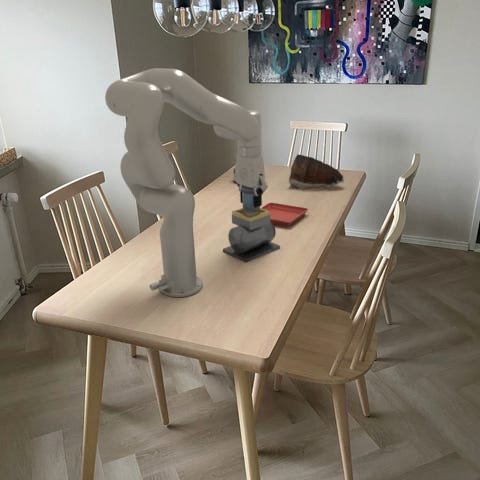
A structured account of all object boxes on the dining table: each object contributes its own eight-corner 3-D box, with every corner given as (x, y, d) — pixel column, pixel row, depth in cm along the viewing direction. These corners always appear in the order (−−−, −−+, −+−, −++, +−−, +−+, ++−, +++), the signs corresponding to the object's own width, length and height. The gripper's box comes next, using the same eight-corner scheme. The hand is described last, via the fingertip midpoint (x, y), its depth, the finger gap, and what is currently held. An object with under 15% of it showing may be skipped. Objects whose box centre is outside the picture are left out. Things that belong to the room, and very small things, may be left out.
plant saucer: (269, 208, 204) (269, 201, 203) (308, 215, 195) (309, 207, 194) (249, 222, 190) (249, 214, 189) (290, 230, 181) (290, 222, 180)
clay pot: (346, 168, 215) (293, 155, 221) (337, 200, 220) (286, 186, 226) (349, 164, 228) (300, 152, 235) (341, 194, 234) (293, 181, 240)
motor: (245, 262, 156) (244, 221, 150) (222, 251, 164) (221, 212, 158) (280, 248, 165) (280, 209, 160) (256, 238, 174) (256, 201, 168)
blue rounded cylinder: (250, 212, 155) (250, 191, 152) (238, 207, 159) (237, 187, 156) (264, 207, 158) (263, 187, 156) (251, 203, 163) (251, 183, 160)
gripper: (223, 148, 155) (226, 201, 162) (259, 157, 143) (260, 213, 150) (240, 144, 159) (242, 195, 166) (277, 152, 147) (277, 207, 154)
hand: (251, 203), depth 158 cm, fingers closed on blue rounded cylinder, 5 cm apart
